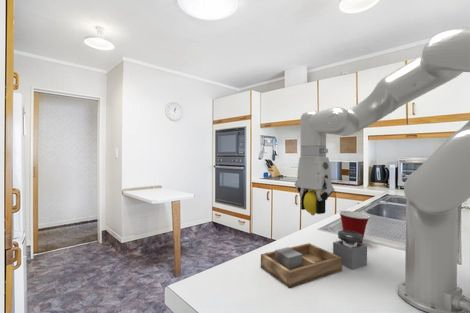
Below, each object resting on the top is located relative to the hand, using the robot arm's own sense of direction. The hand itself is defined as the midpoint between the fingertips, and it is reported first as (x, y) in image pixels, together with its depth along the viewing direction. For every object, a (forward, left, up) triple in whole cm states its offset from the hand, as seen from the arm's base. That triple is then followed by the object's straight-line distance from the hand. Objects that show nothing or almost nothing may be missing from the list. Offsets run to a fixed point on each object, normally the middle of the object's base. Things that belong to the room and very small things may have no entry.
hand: (312, 210), depth 75 cm
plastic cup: (+6, -28, -17) cm, 34 cm away
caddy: (0, +5, -17) cm, 18 cm away
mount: (-4, -12, -17) cm, 21 cm away
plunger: (-4, -12, -16) cm, 21 cm away
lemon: (0, 0, -2) cm, 2 cm away
